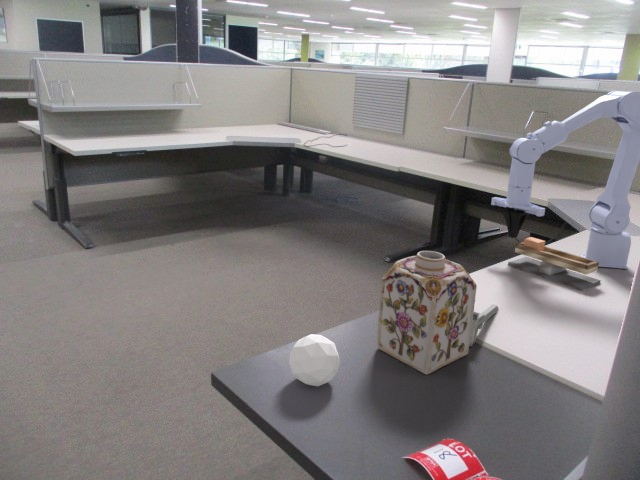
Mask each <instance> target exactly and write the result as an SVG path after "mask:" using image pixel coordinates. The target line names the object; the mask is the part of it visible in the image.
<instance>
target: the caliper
mask: <svg viewBox="0 0 640 480" xmlns="http://www.w3.org/2000/svg"><path fill="white" fill-rule="evenodd" d="M498 310H499V306H498V304H492V305H490V306H489V307H487V308H486V309H485V310H483V311H482V312H476V311H474V313H473V322H472V330H471V337H470V344H469V347H473V346H474V345H473V344H475V343H476V340H477V337H478V331H479V330H481V329H482V328H483V325H484V323H485V322H486V321H488V320H489V319H490V318H491V317H492V316H494V315H495V314H496V313H497V311H498ZM495 312H496V313H495Z"/></svg>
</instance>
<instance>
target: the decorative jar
mask: <svg viewBox="0 0 640 480" xmlns="http://www.w3.org/2000/svg"><path fill="white" fill-rule="evenodd" d="M380 281H381V282H380V283H381V284H380V292H379V293H380V294H379V307H378V316H377V317H378V318H377V332H376V333H377V336H376V348H377V349H378V350H380V351H382V352H384V353H385V354H387V355H389V356H390V357H393V359H394V358H395V359H396V360H398V361H400V362H402V363H403V364H405V365H408V366H409V367H410V368H412V369H415V370H416V371H419V372H420V373H422V374H424V375H426V376H427V375H430V374H431V373H434V372H436V371H437V370H439V369H441V368H442V367H445V366H446V365H449V364H451V363H454V362H455V361H457V360H458V359H461V358H463V357H465V356H467V355H469V349H470V346H469V344H470V337H471V330H472V322H473V313H474V312H475V303H476V293H477V283H476V282H475V281H474V279H473V278H472V277H471V274H470V273H469V272H468V271H467V270H466V269H465V268H464V266H462V264H460V263H456V262H455V261H451V260H449V259H446V256H445V255H444V254H443V253H441V252H438V251H433V250H420V251H419V252H417V254H416V255H412V256H407V257H404V258H401V259H399V260H397V261H395V262H394V263H393V265H392V266H391V267H390V269H388V270H387V272H386V273H385V275H383V276H382V278H381V280H380Z"/></svg>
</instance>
